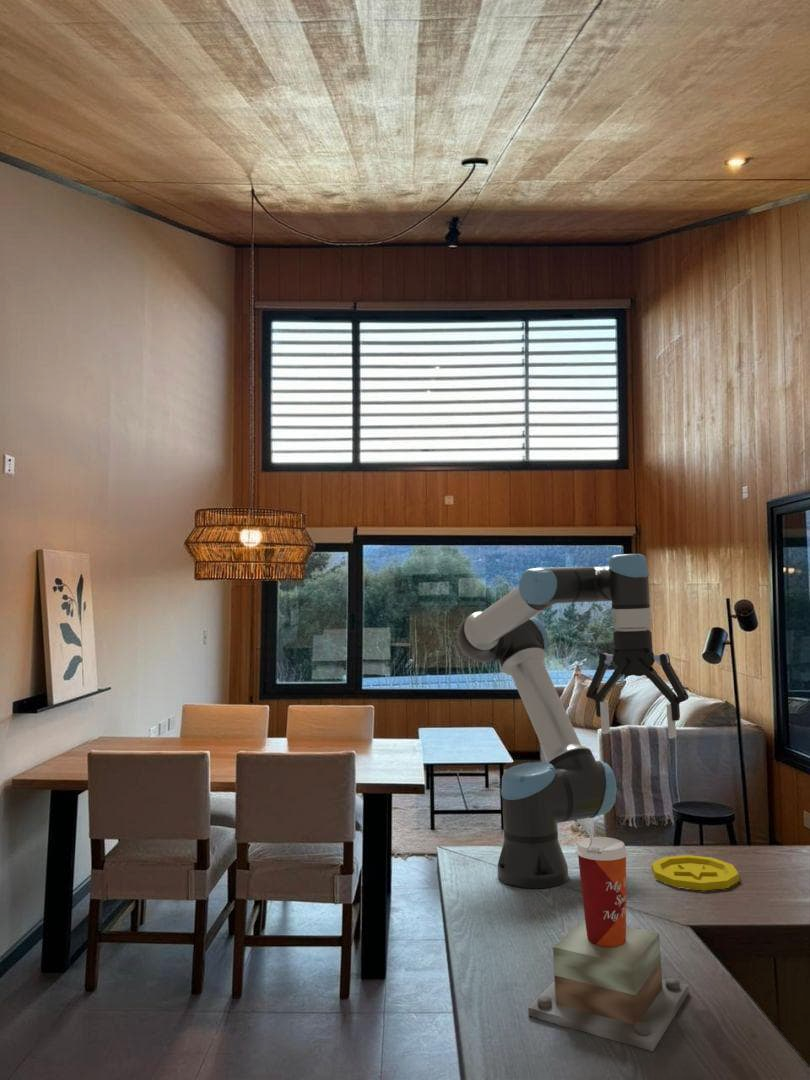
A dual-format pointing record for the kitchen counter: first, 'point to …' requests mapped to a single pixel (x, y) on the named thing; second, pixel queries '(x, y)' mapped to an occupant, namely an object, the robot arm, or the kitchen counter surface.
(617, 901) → the paper cup
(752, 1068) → the kitchen counter surface
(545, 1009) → the bolted block on plate
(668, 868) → the decorative disc
